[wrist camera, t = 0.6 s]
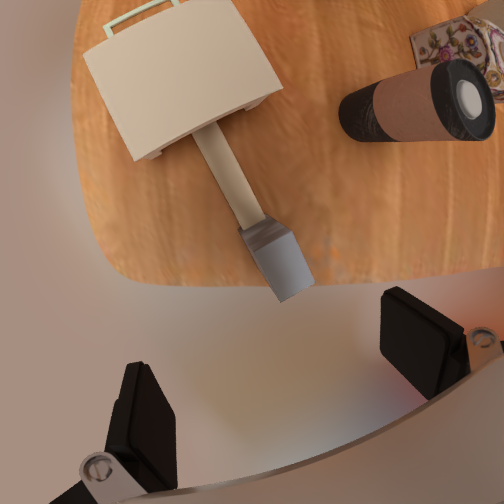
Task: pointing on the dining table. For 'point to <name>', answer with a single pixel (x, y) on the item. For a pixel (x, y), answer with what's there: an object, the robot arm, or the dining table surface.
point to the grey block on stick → (255, 219)
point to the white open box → (179, 73)
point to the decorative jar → (464, 48)
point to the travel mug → (423, 106)
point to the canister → (490, 12)
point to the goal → (134, 12)
